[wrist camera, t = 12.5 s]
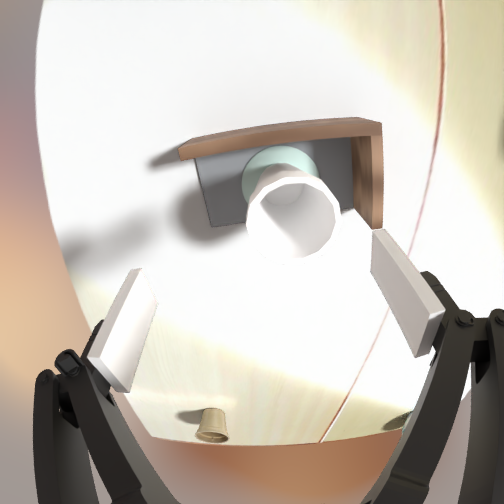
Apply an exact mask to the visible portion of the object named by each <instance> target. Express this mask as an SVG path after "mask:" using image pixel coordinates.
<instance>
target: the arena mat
mask: <svg viewBox="0 0 504 504" xmlns="http://www.w3.org/2000/svg"><path fill="white" fill-rule="evenodd" d="M195 159H196V163H197V167H198V172H199V176H200V180H201V185H202V189H203V193H204V198H205V202H206V206H207V210H208V214H209V218H210V222H211V226H212V227H218V226H224V225H231V224H237V223H243V222H246V214H247V209H248V204H249V199H250V196H251V195H252V193H253V192H254V190H255V188H256V185H257V183H258V180H259V178H260V176H261V174H262V173H263V172H264V170H265V169H266V168H267V167H269V166H271V165H273V164H275V163H288V164H290V165H293V166H295V167H297V168H299V169H300V170H302V171H304V172H306V173H308V174H311V175H313V176H315V177H317V178H319V179H321V180H322V181H323V182H324V184H325V185H326V186H327V187H328V189H329V190H330V191H331V193H332V194H333V195H334V197H335V198H336V200H337V201H338V202H339V207H340V209H344V208H353V207H354V203H353V172H352V154H351V140H350V137H341V138H328V139H317V140H307V141H297V142H289V143H281V144H273V145H266V146H259V147H253V148H246V149H240V150H234V151H229V152H223V153H218V154H213V155H207V156H202V157H198V158H195Z"/></svg>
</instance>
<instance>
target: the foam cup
mask: <svg viewBox="0 0 504 504" xmlns="http://www.w3.org/2000/svg"><path fill="white" fill-rule="evenodd" d="M341 223H342V221H341V214H340V207H339V202H338V201H337V200H336V198H335V197H334V195H333V194H332V193H331V191H330V190H329V189H328V187H327V186H326V185H325V184H324V182H323V181H322V180H321V179H319V178H317V177H315V176H313V175H311V174H308V173H306V172H304V171H302V170H300V169H299V168H297V167H295V166H293V165H290V164H288V163H275V164H273V165H271V166H269V167H267V168H266V169H265V170H264V172H263V173H262V174H261V176H260V178H259V180H258V183H257V185H256V188H255V190H254V192H253V193H252V195H251V196H250V199H249V204H248V209H247V214H246V226H247V230H248V233H249V236H250V239H251V243H252V244H253V245H254V246H255V247H256V248H257V249H258V250H259V251H260V252H261V253H262V254H263V255H264V256H265V257H266V258H269V259H271V260H274V261H277V262H280V263H282V264H296V263H305V262H307V261H309V260H312V259H314V258H316V257H318V256H321V255H322V254H323V253H324V252H325V251H326V250H327V249H328V248H329V247H330V246H331V245H332V244H333V243H334V241H335V240H336V237H337V234H338V231H339V229H340V226H341Z"/></svg>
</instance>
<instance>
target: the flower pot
mask: <svg viewBox="0 0 504 504" xmlns="http://www.w3.org/2000/svg"><path fill="white" fill-rule="evenodd" d="M195 437H196V438H197V439H198V440H201V441H203V442H207V443H225V442H227V441H229V439H230V438H229V436H228V433H227V429H226V421H225V413H224V411H222V410H220V409H217V408H213V409H210V408H208V409H205V410H204V411H203V415H202V419H201V422H200V426H199V429H198V430H197V433H195Z"/></svg>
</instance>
